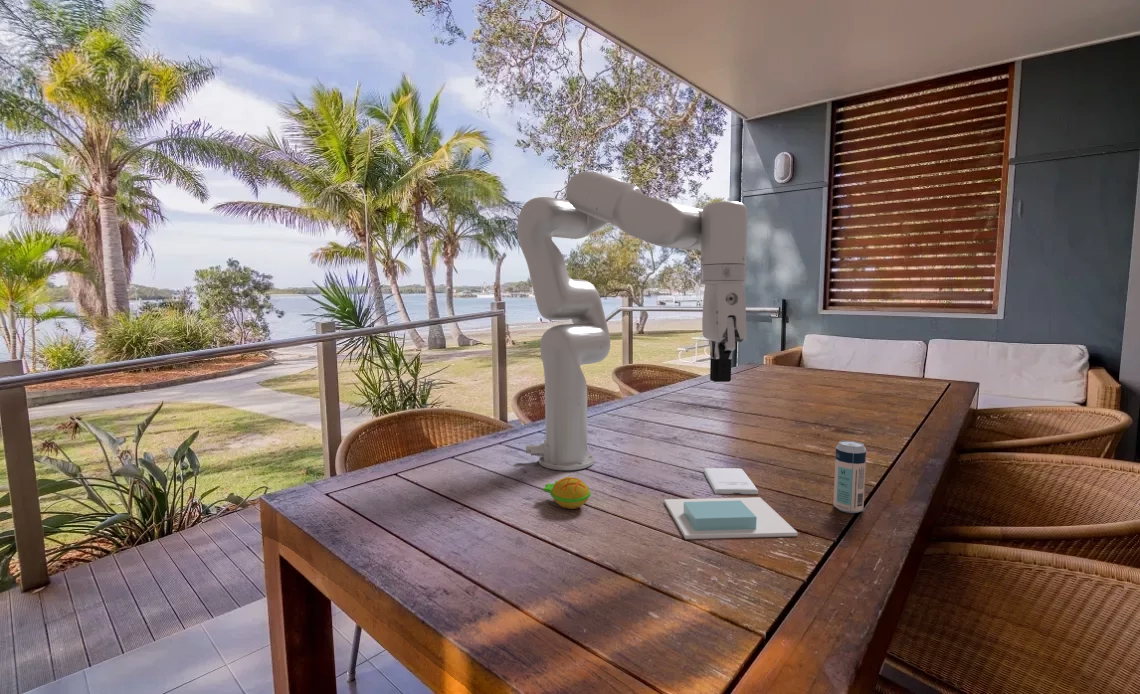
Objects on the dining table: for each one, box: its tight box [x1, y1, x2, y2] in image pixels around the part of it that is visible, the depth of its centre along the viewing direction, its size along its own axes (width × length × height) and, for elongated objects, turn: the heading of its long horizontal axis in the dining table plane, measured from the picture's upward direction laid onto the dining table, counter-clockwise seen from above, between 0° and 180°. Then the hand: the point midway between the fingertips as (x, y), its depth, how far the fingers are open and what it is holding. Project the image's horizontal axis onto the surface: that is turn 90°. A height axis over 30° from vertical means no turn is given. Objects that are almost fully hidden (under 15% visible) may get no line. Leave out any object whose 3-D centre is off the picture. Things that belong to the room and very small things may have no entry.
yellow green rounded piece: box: [542, 476, 592, 510], centre depth 99 cm, size 7×10×5 cm
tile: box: [683, 501, 757, 531], centre depth 90 cm, size 10×2×7 cm
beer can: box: [832, 440, 867, 514], centre depth 96 cm, size 5×5×12 cm
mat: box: [663, 496, 799, 540], centre depth 93 cm, size 18×15×1 cm
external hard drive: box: [703, 467, 759, 495], centre depth 110 cm, size 2×8×12 cm
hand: (720, 380), depth 95 cm, fingers closed
